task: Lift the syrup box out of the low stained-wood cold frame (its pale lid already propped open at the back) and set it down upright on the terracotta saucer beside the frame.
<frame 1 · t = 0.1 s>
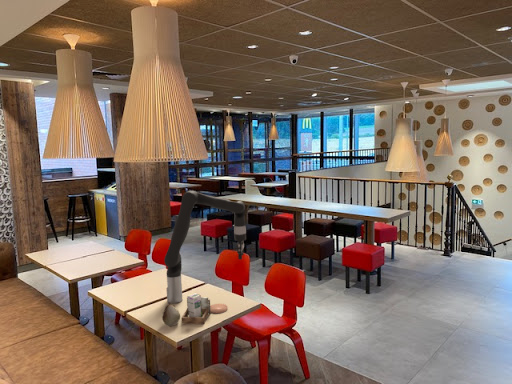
hand: (241, 257, 245), 29 cm above the table, fingers open, 8 cm apart
cold frame: (195, 318, 225), on the table
fruit: (172, 324, 219), on the table
saucer: (218, 309, 237), on the table
syrup box: (195, 319, 225), resting in cold frame
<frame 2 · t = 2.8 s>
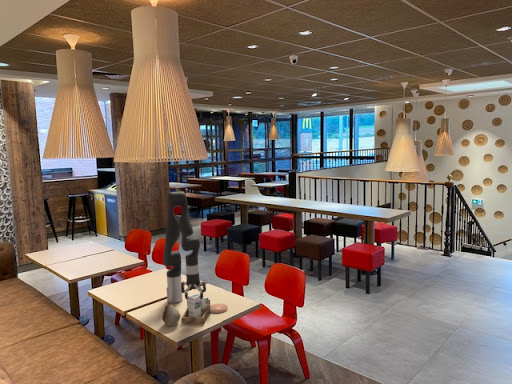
hand: (194, 299, 223), 12 cm above the table, fingers open, 8 cm apart
syrup box: (195, 318, 225), resting in cold frame, touching gripper
everything else where it was.
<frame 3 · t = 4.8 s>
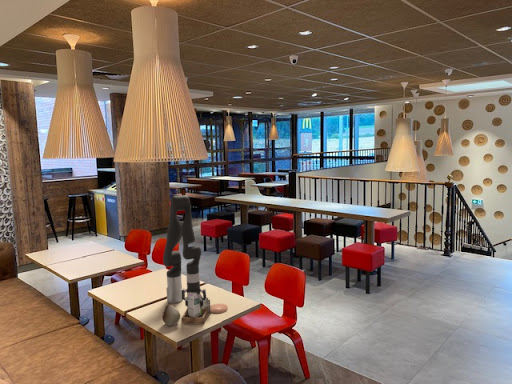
hand: (194, 306, 224), 8 cm above the table, fingers closed on syrup box, 8 cm apart
syrup box: (194, 315, 225), point 2 cm above the table, touching gripper
everything else where it was.
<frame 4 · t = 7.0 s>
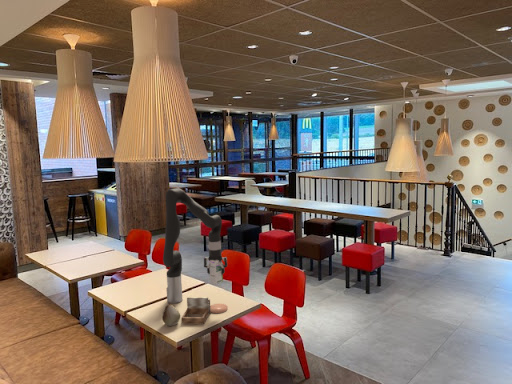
hand: (216, 273, 234), 23 cm above the table, fingers closed on syrup box, 8 cm apart
syrup box: (216, 282, 235), point 17 cm above the table, touching gripper
everything else where it was.
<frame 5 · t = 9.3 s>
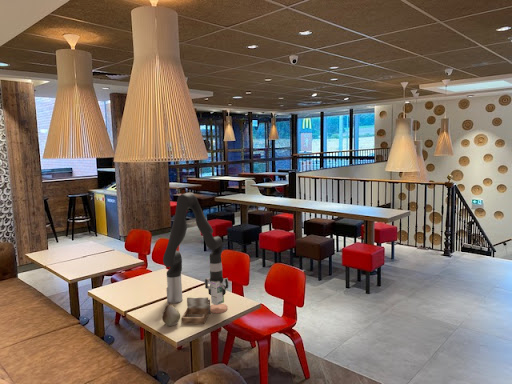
hand: (217, 294, 236), 9 cm above the table, fingers closed on syrup box, 8 cm apart
syrup box: (217, 303, 236), point 4 cm above the table, touching gripper
everything else where it was.
when the fingers open (7 cm above the table, at t = 10.7 s): syrup box stays where it is, resting on saucer.
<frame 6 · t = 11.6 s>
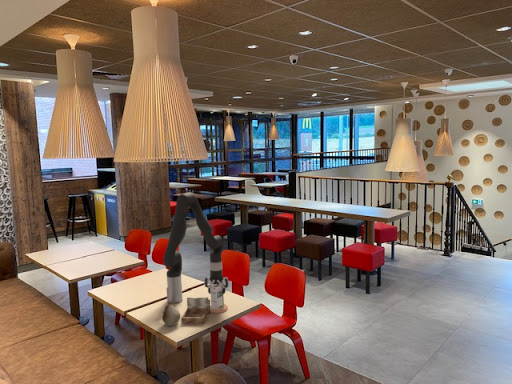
hand: (216, 293, 236), 10 cm above the table, fingers open, 8 cm apart
syrup box: (217, 307, 237), point 1 cm above the table, touching gripper, saucer
everything else where it was.
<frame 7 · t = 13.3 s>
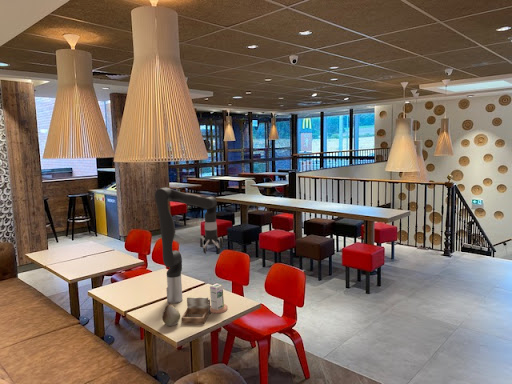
hand: (212, 253, 242), 33 cm above the table, fingers open, 8 cm apart
syrup box: (217, 307, 237), point 1 cm above the table, touching saucer
everything else where it was.
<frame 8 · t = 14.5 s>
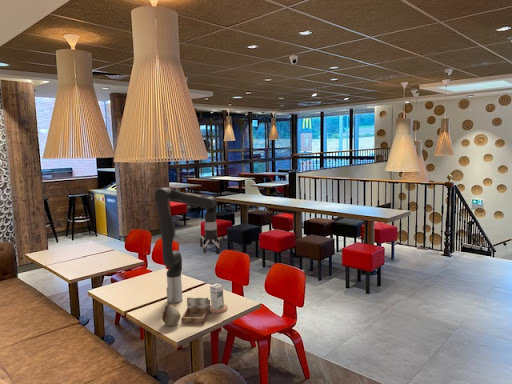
hand: (212, 253, 242), 33 cm above the table, fingers open, 8 cm apart
nothing on the table moved.
at the end: syrup box 0.3 cm from the saucer (horizontally); syrup box tilted 0°; syrup box point 0.8 cm above the table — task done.
